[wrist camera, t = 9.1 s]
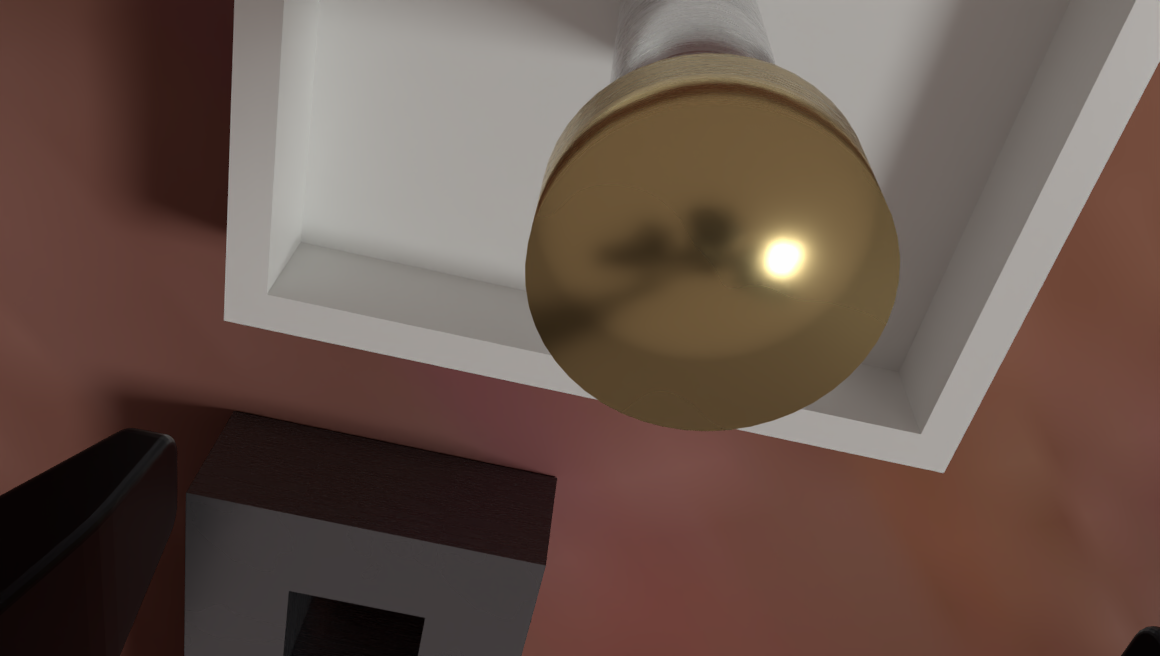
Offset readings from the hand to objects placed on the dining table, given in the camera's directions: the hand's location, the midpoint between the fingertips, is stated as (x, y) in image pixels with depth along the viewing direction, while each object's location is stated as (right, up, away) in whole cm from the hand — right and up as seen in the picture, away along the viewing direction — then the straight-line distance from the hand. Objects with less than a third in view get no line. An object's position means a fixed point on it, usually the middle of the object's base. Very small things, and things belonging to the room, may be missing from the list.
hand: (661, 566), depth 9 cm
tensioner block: (-7, -6, +19) cm, 22 cm away
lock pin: (+1, +8, +9) cm, 12 cm away
